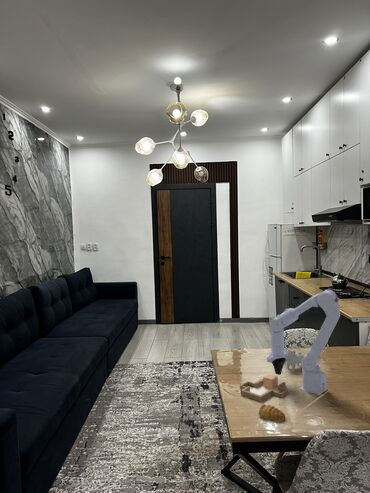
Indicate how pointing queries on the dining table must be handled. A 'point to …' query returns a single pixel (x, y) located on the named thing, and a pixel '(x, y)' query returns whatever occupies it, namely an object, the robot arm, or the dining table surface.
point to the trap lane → (262, 390)
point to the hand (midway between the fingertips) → (278, 373)
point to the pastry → (271, 413)
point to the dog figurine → (293, 359)
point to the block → (270, 381)
